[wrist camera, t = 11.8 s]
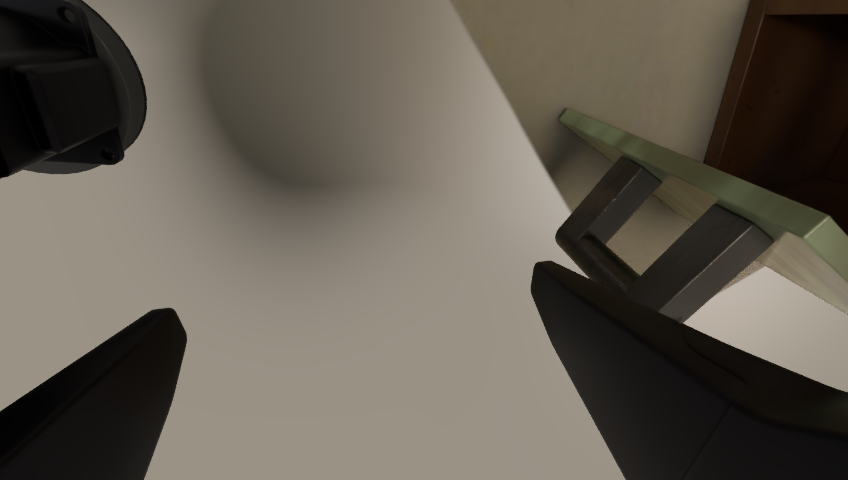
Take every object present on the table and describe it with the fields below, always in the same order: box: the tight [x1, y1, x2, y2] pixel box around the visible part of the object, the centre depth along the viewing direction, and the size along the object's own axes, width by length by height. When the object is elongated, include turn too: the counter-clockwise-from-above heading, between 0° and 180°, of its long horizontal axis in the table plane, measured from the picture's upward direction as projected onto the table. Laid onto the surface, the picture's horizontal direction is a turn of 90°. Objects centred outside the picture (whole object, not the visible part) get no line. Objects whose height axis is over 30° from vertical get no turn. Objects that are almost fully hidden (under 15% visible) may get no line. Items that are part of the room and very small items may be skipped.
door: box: [555, 108, 848, 324], centre depth 19 cm, size 6×13×14 cm, turn 57°
